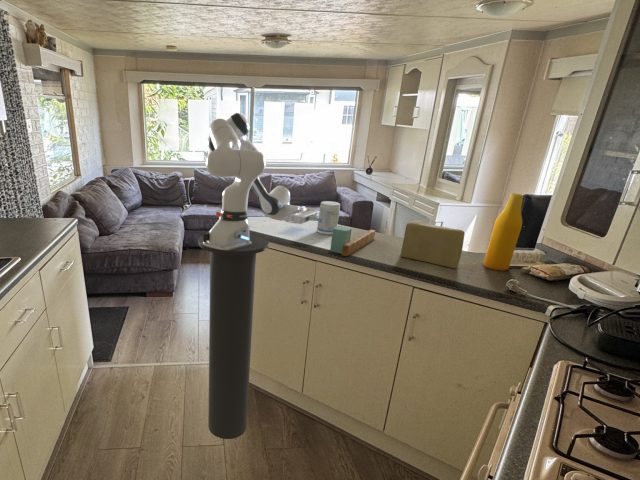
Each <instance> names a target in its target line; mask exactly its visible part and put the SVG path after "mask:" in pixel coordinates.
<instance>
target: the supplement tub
mask: <svg viewBox="0 0 640 480" xmlns="http://www.w3.org/2000/svg"><path fill="white" fill-rule="evenodd" d="M318 211H319V218H318V221H317V227H316V231H317V233H319V234H322V235H326V236H327V235H328V236H330V235H331V236H332V233H333V228H335V227H338V225H339V216H340V211H341V203H339V202H337V201H330V200H323V201H321V202H320V204H319V210H318Z"/></svg>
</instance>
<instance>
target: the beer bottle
mask: <svg viewBox="0 0 640 480" xmlns="http://www.w3.org/2000/svg"><path fill="white" fill-rule="evenodd" d="M523 201H524V194H521V193H510V195H509V197H508V199H507V202H506V204H505V207H504V209H503V210H502V211H501V212H500V214H499V215H498V216H497V218H495V219H496V220H495V222H494V224H493V228H492V231H491V235H490V238H489V239H490V240H489V242H488V246H487V250H486V253H485V256H484V260H483V266H484V267H485V268H487V269H490V270H494V271H503V272H504V271H507V270H509V268H510V266H511V263H512V260H513V256H514V253H515V250H516V247H517V243H518V239H519V236H520V233H521V230H522V228H523V216H522V205H523Z"/></svg>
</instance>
